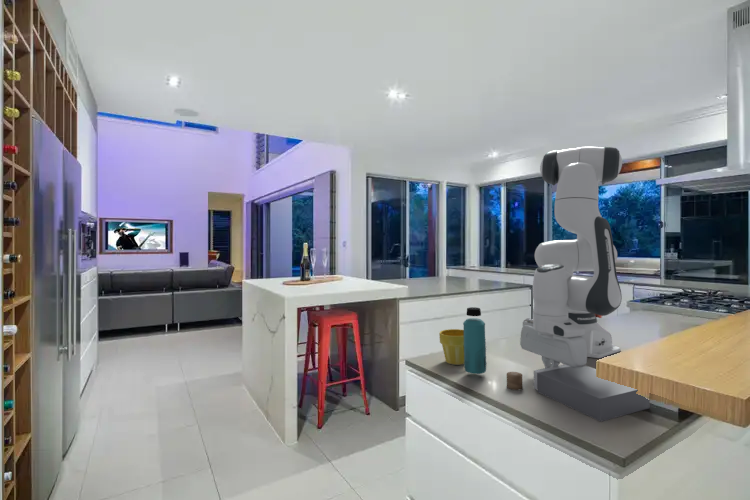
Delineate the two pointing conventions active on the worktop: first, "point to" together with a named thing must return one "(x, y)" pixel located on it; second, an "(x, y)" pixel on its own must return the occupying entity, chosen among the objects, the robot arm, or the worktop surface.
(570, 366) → the tray
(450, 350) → the plant pot
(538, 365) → the worktop surface
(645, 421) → the worktop surface
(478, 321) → the beverage bottle
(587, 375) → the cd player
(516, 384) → the disc stand
